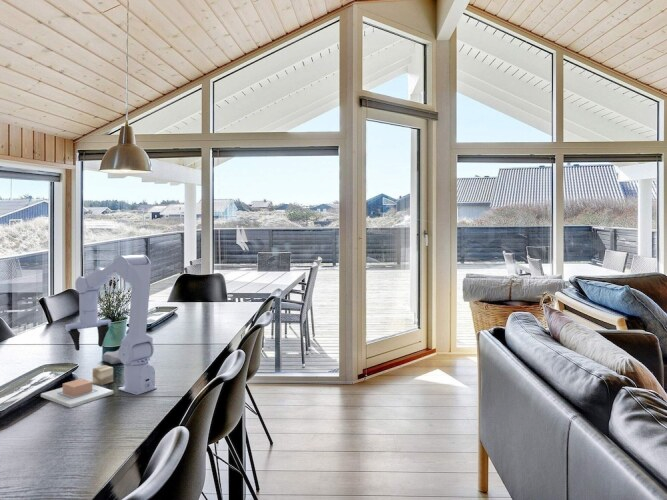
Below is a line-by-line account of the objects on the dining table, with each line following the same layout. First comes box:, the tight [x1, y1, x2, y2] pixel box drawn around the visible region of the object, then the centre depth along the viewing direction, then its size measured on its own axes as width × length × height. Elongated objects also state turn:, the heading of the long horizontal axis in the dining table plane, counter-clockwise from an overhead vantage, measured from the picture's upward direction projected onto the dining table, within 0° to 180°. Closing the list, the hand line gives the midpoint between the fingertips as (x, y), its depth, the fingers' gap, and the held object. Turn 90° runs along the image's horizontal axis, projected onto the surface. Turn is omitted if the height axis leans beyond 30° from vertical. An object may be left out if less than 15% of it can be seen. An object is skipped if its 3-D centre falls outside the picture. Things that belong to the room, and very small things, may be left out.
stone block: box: [102, 349, 123, 365], centre depth 191 cm, size 12×5×10 cm
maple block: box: [92, 364, 114, 386], centre depth 165 cm, size 5×5×5 cm
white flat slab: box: [40, 378, 115, 408], centre depth 152 cm, size 16×14×4 cm
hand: (89, 348), depth 171 cm, fingers open, 7 cm apart
